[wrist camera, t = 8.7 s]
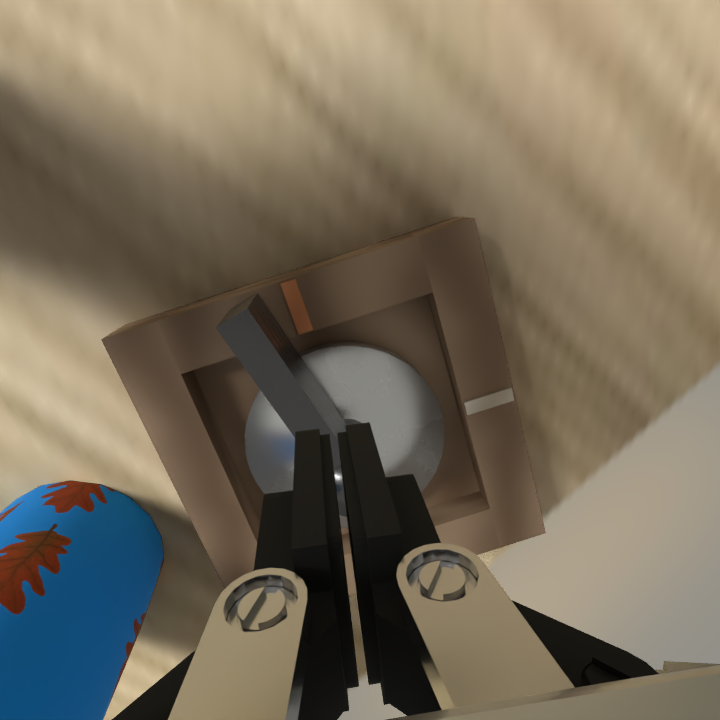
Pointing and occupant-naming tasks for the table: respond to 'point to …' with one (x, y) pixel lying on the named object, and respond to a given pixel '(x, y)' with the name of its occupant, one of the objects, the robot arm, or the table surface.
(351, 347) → the dial
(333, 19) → the table surface
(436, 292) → the wooden frame
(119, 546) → the thermos
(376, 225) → the table surface
